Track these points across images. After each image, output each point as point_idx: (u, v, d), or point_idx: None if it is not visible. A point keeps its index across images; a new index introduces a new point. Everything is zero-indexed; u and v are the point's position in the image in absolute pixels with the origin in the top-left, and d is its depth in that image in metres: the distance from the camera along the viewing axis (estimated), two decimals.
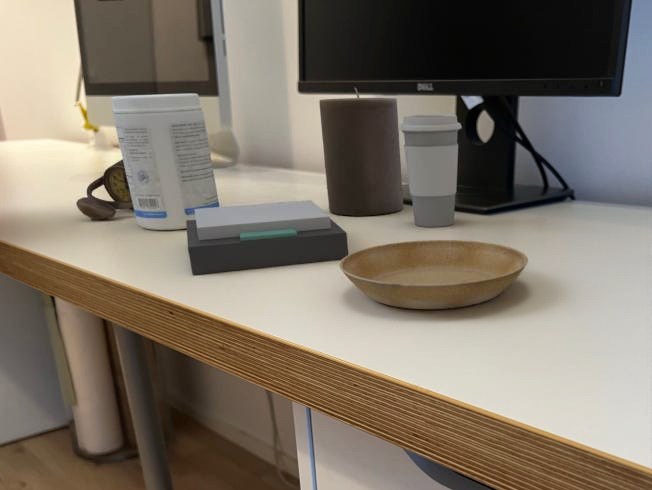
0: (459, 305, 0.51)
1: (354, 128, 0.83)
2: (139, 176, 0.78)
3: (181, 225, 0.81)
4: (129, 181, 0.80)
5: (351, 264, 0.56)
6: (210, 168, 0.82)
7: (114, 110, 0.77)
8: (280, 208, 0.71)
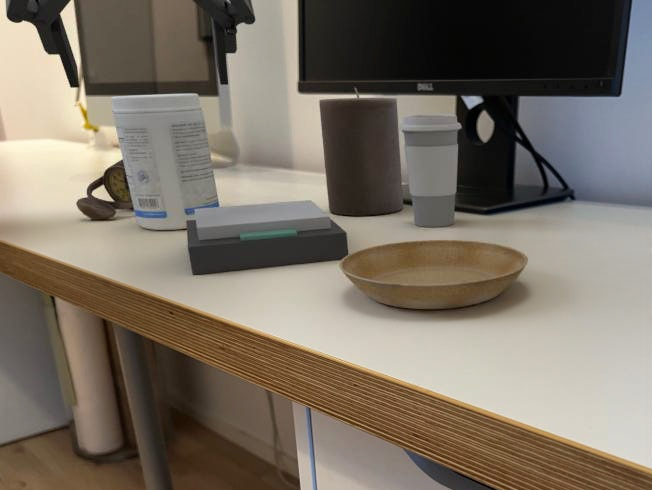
0: (459, 305, 0.51)
1: (354, 128, 0.83)
2: (139, 176, 0.78)
3: (181, 225, 0.81)
4: (129, 181, 0.80)
5: (351, 264, 0.56)
6: (210, 168, 0.82)
7: (114, 110, 0.77)
8: (280, 208, 0.71)
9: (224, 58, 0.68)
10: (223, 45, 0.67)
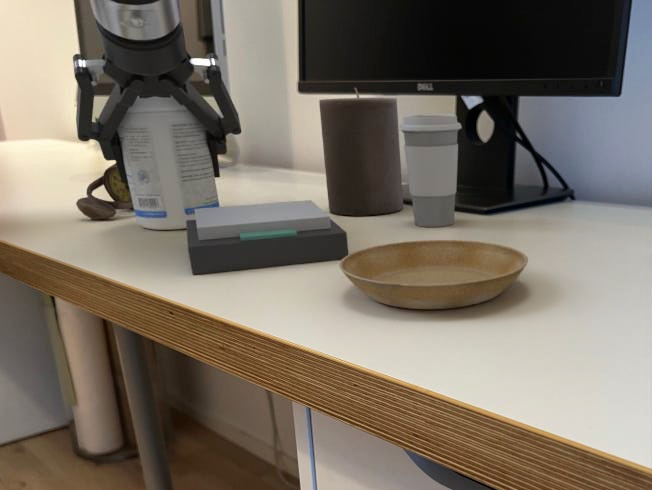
0: (459, 305, 0.51)
1: (354, 128, 0.83)
2: (139, 175, 0.78)
3: (181, 225, 0.80)
4: (129, 181, 0.80)
5: (351, 264, 0.56)
6: (211, 168, 0.82)
7: None
8: (280, 208, 0.71)
9: (216, 159, 0.83)
10: (215, 150, 0.82)
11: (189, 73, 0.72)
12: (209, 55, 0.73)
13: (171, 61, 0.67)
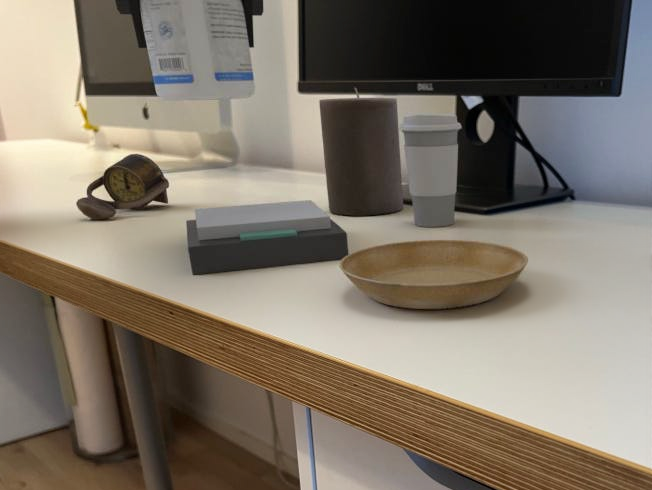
0: (459, 305, 0.51)
1: (354, 128, 0.83)
2: (161, 29, 0.64)
3: (211, 93, 0.67)
4: (148, 39, 0.66)
5: (351, 264, 0.56)
6: (245, 29, 0.69)
7: None
8: (280, 208, 0.71)
9: (251, 20, 0.70)
10: (250, 6, 0.68)
11: None
12: None
13: None
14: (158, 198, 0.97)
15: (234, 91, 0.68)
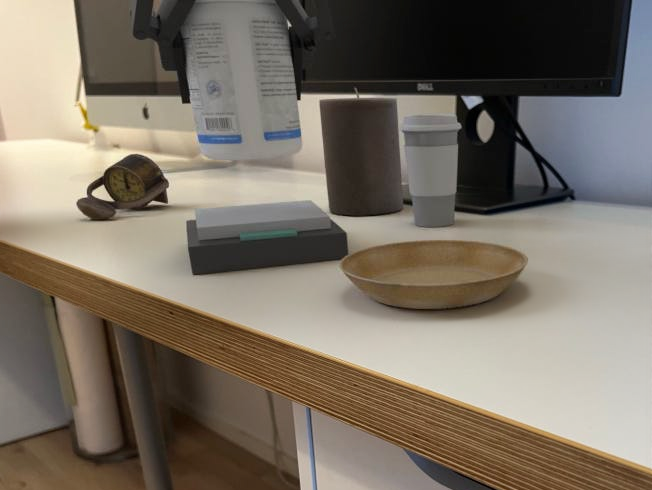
0: (459, 305, 0.51)
1: (354, 128, 0.83)
2: (209, 88, 0.61)
3: (259, 154, 0.63)
4: (194, 97, 0.63)
5: (351, 264, 0.56)
6: (294, 84, 0.65)
7: None
8: (280, 208, 0.71)
9: (299, 74, 0.66)
10: (300, 61, 0.65)
11: None
12: None
13: None
14: (158, 198, 0.97)
15: (283, 150, 0.65)
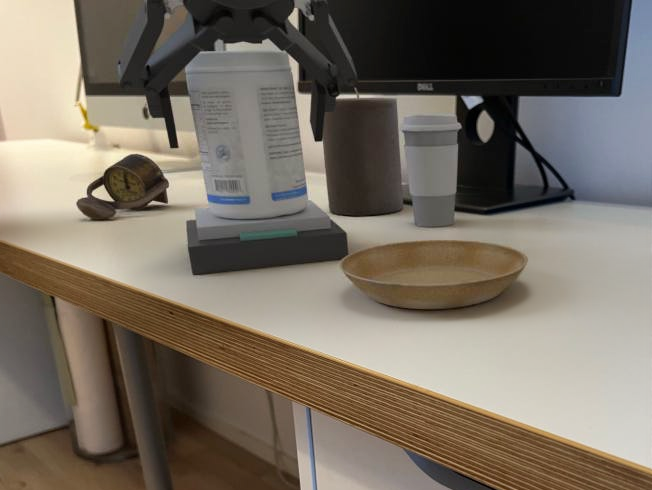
0: (459, 305, 0.51)
1: (354, 128, 0.83)
2: (218, 152, 0.63)
3: (267, 213, 0.65)
4: (203, 159, 0.65)
5: (351, 264, 0.56)
6: (300, 144, 0.67)
7: (188, 69, 0.62)
8: None
9: (322, 117, 0.68)
10: (323, 105, 0.66)
11: (289, 11, 0.56)
12: None
13: None
14: (158, 198, 0.97)
15: (290, 209, 0.67)
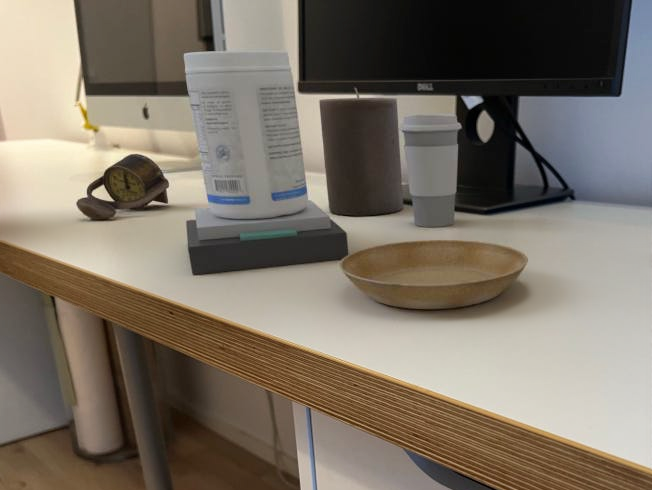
0: (459, 305, 0.51)
1: (354, 128, 0.83)
2: (218, 152, 0.63)
3: (267, 213, 0.65)
4: (203, 159, 0.65)
5: (351, 264, 0.56)
6: (300, 144, 0.67)
7: (188, 69, 0.62)
8: None
9: None
10: None
11: None
12: None
13: None
14: (158, 198, 0.97)
15: (290, 208, 0.67)
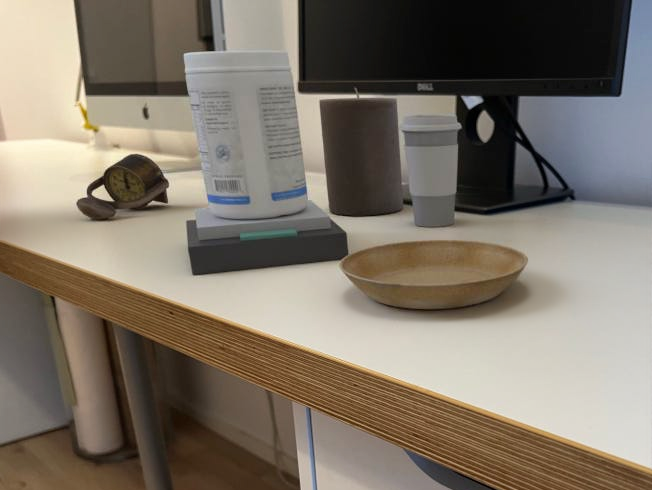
0: (459, 305, 0.51)
1: (354, 128, 0.83)
2: (218, 152, 0.63)
3: (267, 213, 0.65)
4: (203, 159, 0.65)
5: (351, 264, 0.56)
6: (300, 144, 0.67)
7: (188, 69, 0.62)
8: None
9: None
10: None
11: None
12: None
13: None
14: (158, 198, 0.97)
15: (290, 208, 0.67)
